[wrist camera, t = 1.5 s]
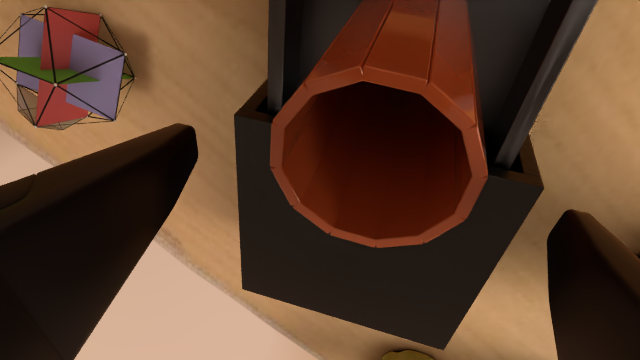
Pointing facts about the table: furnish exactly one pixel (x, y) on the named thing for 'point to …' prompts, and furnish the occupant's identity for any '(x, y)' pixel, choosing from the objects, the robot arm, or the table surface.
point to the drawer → (490, 49)
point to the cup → (387, 126)
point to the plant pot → (406, 356)
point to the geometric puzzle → (65, 69)
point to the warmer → (371, 262)
